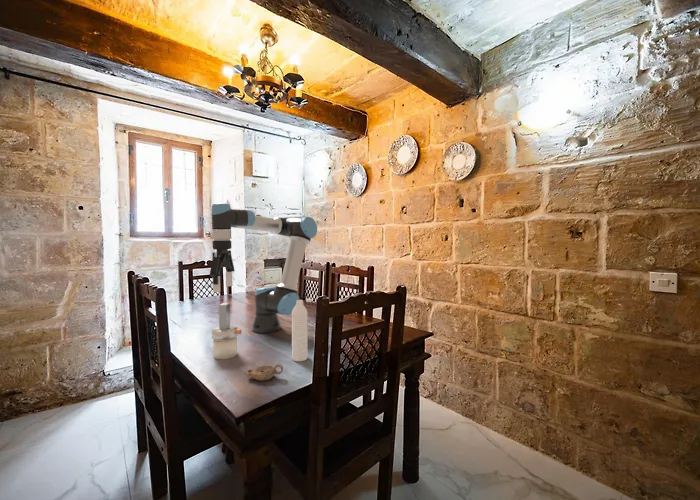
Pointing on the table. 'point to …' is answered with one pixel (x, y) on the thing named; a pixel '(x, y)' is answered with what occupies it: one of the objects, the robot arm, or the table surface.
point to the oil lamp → (263, 372)
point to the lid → (225, 325)
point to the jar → (225, 348)
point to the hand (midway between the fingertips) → (223, 289)
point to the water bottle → (299, 332)
